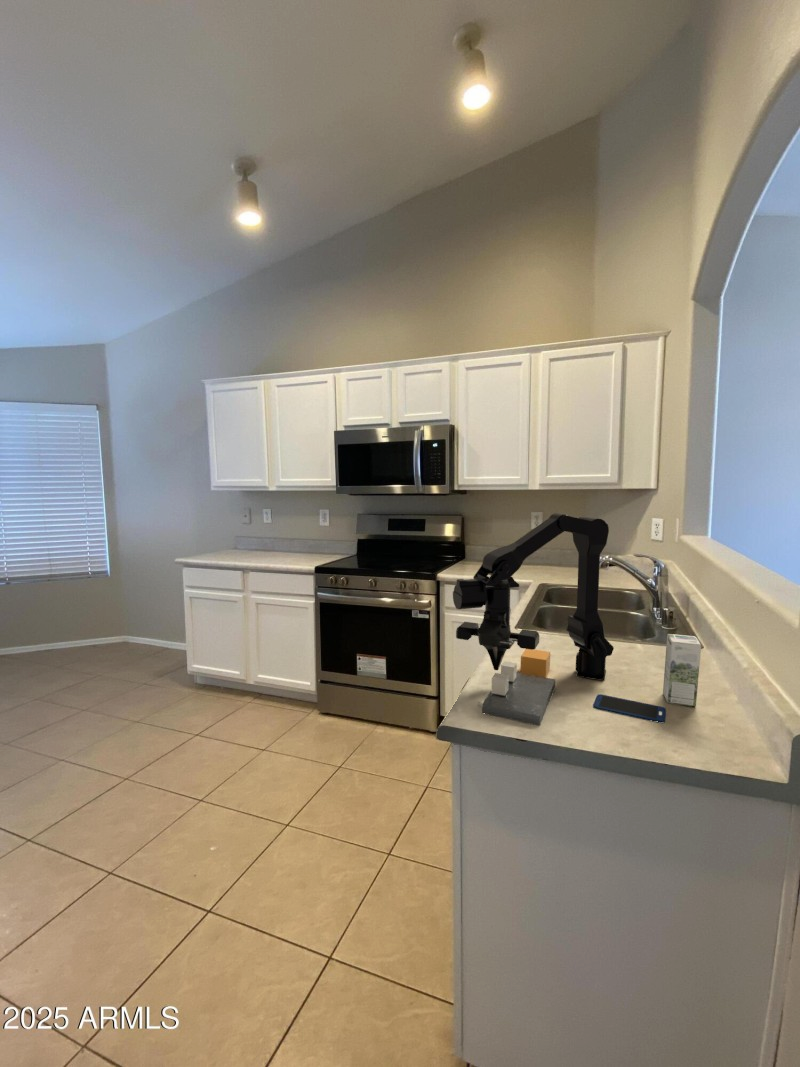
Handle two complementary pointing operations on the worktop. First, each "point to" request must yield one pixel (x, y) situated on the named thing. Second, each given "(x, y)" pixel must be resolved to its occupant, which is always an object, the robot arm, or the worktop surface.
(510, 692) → the panel
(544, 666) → the orange squarish block
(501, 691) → the block
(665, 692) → the syrup box
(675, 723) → the worktop surface
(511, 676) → the light grey block
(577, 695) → the worktop surface
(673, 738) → the worktop surface
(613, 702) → the cell phone
